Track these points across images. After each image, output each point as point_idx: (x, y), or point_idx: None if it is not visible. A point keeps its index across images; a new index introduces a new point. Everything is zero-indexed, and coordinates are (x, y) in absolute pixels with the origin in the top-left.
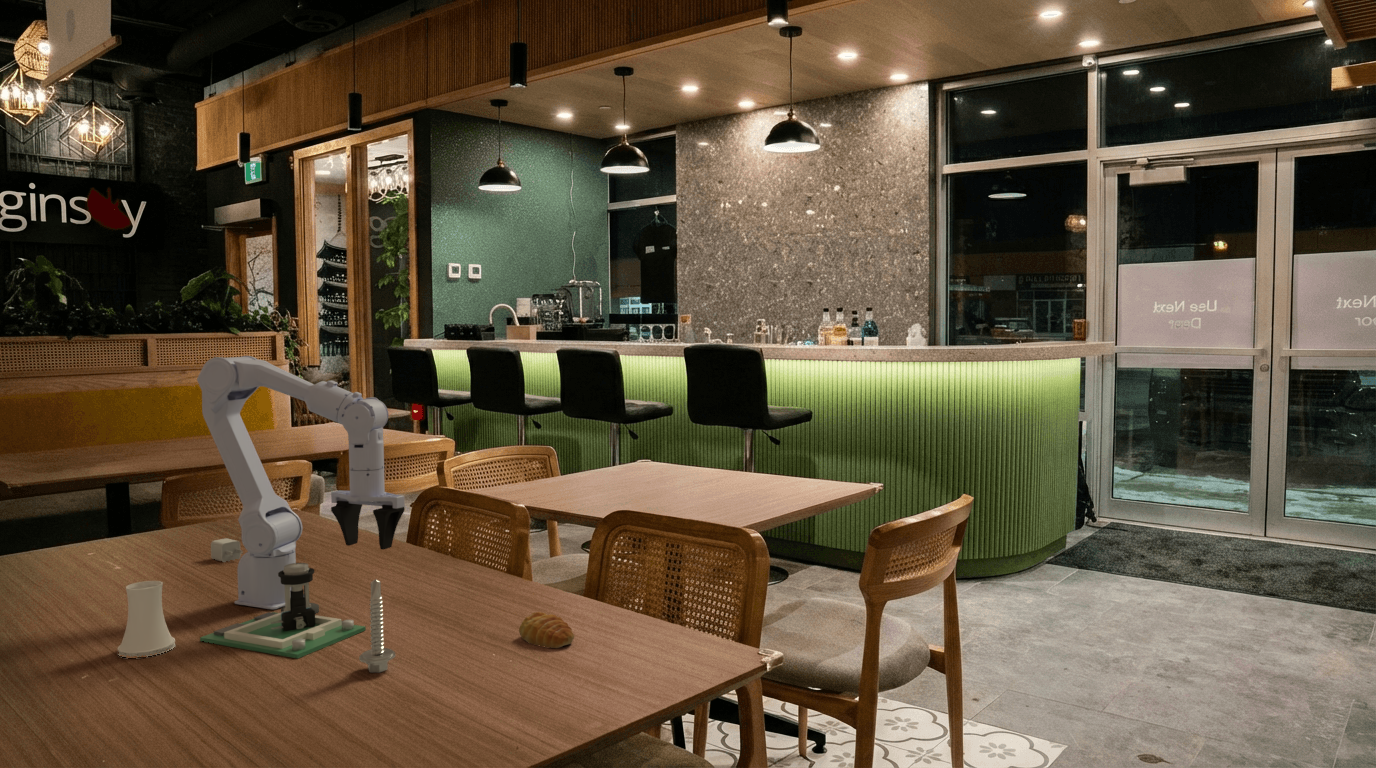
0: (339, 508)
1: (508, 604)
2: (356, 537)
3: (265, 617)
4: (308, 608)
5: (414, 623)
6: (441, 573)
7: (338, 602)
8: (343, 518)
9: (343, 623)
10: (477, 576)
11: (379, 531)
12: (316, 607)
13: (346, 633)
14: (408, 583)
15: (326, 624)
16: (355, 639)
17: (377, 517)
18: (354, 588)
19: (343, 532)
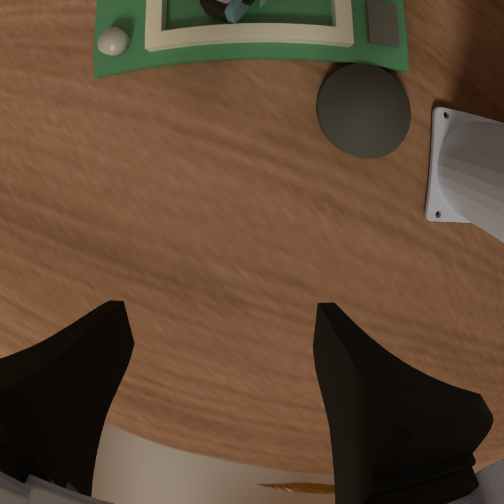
0: (408, 437)
1: (24, 328)
2: (317, 363)
3: (371, 9)
4: (229, 2)
5: (48, 169)
6: (266, 434)
7: (335, 219)
8: (364, 388)
9: (111, 28)
10: (192, 435)
11: (72, 340)
12: (328, 128)
13: (99, 24)
14: (281, 382)
15: (148, 4)
16: (79, 31)
17: (7, 375)
18: (372, 319)
19: (354, 331)
